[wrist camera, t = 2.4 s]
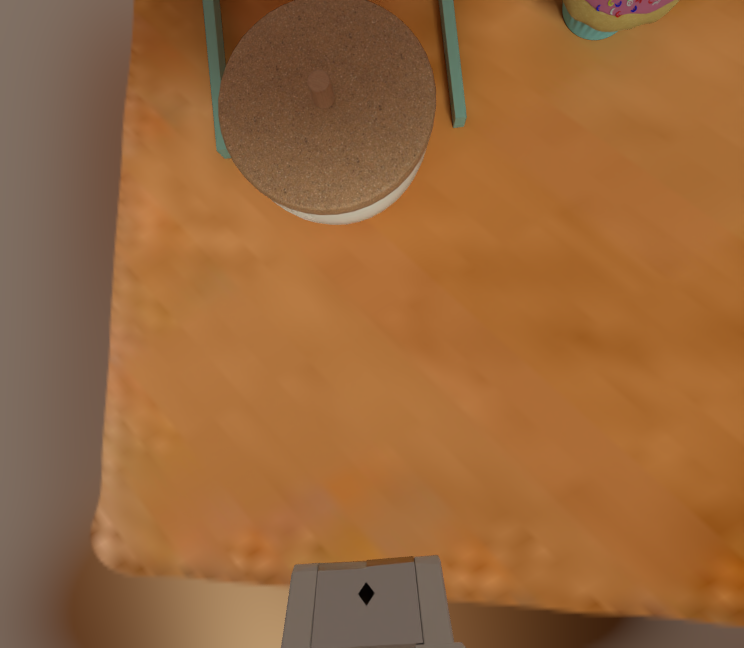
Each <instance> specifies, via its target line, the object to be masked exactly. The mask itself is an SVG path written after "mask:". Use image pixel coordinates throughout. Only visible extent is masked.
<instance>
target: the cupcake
mask: <svg viewBox="0 0 744 648" xmlns="http://www.w3.org/2000/svg"><path fill="white" fill-rule="evenodd" d="M562 1H563V7H562V12H563V18H564V21H565V23H566V25H567V26H568V28H569V29H570V30H571V31H572V32H573V33H574V34H576V35H577V36H579V37H581V38H584V39H588V40H600V39H604V38H607V37H609V36H611V35H613V34H615V33H616V32H617V31H620V30H628V29H632V28H635V27H637V26H640V25H642V24H646V23H653V22H656V21H657V20H659V19H660V18H661V17H663V16H664V15H665V14H667V13H668V12H669V11H670V10H671V9H672V8H673V7H674V6H675V5H676V4H677V2H678V1H679V0H562Z"/></svg>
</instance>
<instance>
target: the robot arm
mask: <svg viewBox="0 0 744 648" xmlns="http://www.w3.org/2000/svg"><path fill="white" fill-rule="evenodd" d="M281 648H466V647H465V646H464V645H463V643H462V642H454V639H453V633H452V627H451V621H450V615H449V609H448V603H447V597H446V591H445V585H444V579H443V573H442V567H441V561H440V559H439V556H438V555H431V556H419V557H413V556H409V557H398V558H386V559H374V560H367V561H353V562H335V563H312V564H298V565H295V566H294V569H293V572H292V576H291V583H290V590H289V597H288V604H287V611H286V618H285V625H284V632H283V638H282V645H281Z"/></svg>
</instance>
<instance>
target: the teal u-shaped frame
mask: <svg viewBox="0 0 744 648" xmlns="http://www.w3.org/2000/svg"><path fill="white" fill-rule="evenodd" d="M439 8H440V17H441V26H442V35H443V43H444V52H445V61H446V69H447V78H448V87H449V96H450V104H451V113H452V122H453V128H456V127H464V124H465V121H466V117H467V116H466V107H465V98H464V90H463V81H462V72H461V64H460V55H459V47H458V38H457V29H456V21H455V12H454V3H453V0H439ZM203 10H204V21H205V31H206V42H207V52H208V63H209V74H210V84H211V95H212V105H213V116H214V127H215V137H216V148H217V151H218V152H219V153H220V154H221V155H222V156H223V157H224V158H231V156H230V154H229V152H228V150H227V148H226V146H225V143H224V140H223V137H222V134H221V129H220V123H219V117H218V98H219V91H220V84H221V80H222V77H223V74H224V71H225V67H226V63H225V52H224V42H223V31H222V21H221V11H220V0H203Z"/></svg>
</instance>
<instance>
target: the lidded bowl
mask: <svg viewBox="0 0 744 648" xmlns="http://www.w3.org/2000/svg"><path fill="white" fill-rule="evenodd" d="M435 109H436V87H435V82H434V76H433V71H432V68H431V65H430V63H429V60H428V57H427V55H426V53H425V51H424V49H423V47H422V46H421V44H420V42H419V40H418V39H417V38H416V36H415V35H414V34H413V33H412V31H411V30H410V29H409V28H408V27H407V26H406V25H405V24H404V23H403V22H402V21H401V20H400V19H398V18H397V17H396V16H395V15H393V14H392V13H390V12H389V11H387V10H386V9H384V8H383V7H381V6H378V5H376V4H374V3H372V2H369V1H367V0H294V1H292V2H289V3H287V4H284V5H282V6H280V7H279V8H277V9H275V10H273V11H271V12H270V13H268V14H267V15H265V16H264V17H263V18H262V19H261V20H259V21H258V22H257V23H256V24H255V25H254V26H253V27H252V28H251V29H250V30H249V31H248V32H247V33H246V34H245V35H244V36H243V37H242V39H241V40H240V42H239V43H238V45H237V46H236V48H235V49H234V51H233V53H232V55H231V57H230V59H229V61H228V63H227V65H226V67H225V71H224V74H223V77H222V80H221V84H220V91H219V98H218V117H219V123H220V129H221V134H222V137H223V140H224V143H225V146H226V148H227V150H228V152H229V154H230V156H231V158H232V160H233V162H234V163H235V165H236V166H237V167H238V169H239V170H240V171H241V173H242V174H243V175H244V177H245V178H246V179H247V180H248V181H249V182H250V183H251V184H252V185H253V186H254V187H256V188H257V189H258V190H259V191H260V192H261V193H263V194H264V195H265V196H267V197H268V198H270V199H271V200H272V201H273V202H275V203H276V204H277V205H279V206H280V207H282V208H283V209H285V210H286V211H288V212H290V213H292V214H294V215H296V216H298V217H300V218H303V219H305V220H309V221H312V222H316V223H322V224H330V225H345V224H351V223H356V222H360V221H363V220H366V219H369V218H371V217H373V216H375V215H377V214H379V213H381V212H383V211H384V210H385V209H387V208H388V207H389V206H391V205H392V204H393V203H394V202H395V201H396V200H397V199H398V198H399V197H400V196H401V195H402V194H403V193H404V192H405V191H406V189H407V188H408V187H409V185H410V184H411V182H412V181H413V179H414V177H415V175H416V173H417V171H418V169H419V167H420V165H421V163H422V161H423V158H424V155H425V152H426V148H427V145H428V142H429V138H430V135H431V132H432V129H433V123H434V116H435Z"/></svg>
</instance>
